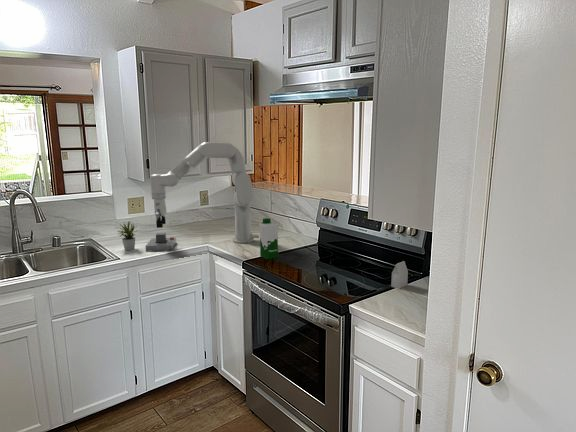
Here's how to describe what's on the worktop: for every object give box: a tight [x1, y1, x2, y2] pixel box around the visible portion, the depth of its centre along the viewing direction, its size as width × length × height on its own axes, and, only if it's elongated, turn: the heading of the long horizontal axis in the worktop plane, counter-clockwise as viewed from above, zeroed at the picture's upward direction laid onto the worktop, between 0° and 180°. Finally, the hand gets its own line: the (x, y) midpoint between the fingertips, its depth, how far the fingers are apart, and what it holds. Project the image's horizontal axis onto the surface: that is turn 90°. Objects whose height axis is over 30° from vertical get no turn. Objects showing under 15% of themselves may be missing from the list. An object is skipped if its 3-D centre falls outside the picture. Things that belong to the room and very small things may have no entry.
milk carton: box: [258, 217, 280, 260], centre depth 223 cm, size 9×9×20 cm
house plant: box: [115, 220, 137, 251], centre depth 242 cm, size 14×14×16 cm
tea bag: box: [390, 260, 409, 289], centre depth 180 cm, size 4×7×10 cm, turn 136°
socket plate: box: [145, 236, 177, 252], centre depth 247 cm, size 14×18×4 cm
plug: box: [155, 232, 167, 243], centre depth 246 cm, size 5×4×8 cm
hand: (161, 225), depth 245 cm, fingers open, 9 cm apart
